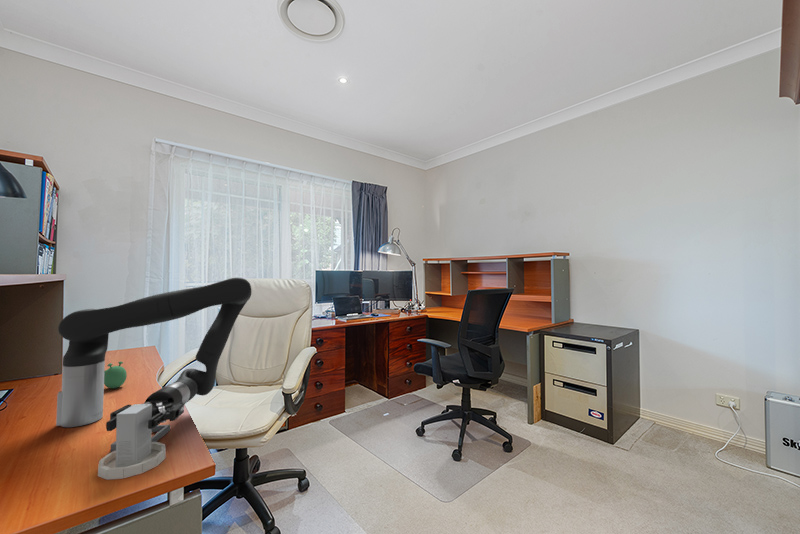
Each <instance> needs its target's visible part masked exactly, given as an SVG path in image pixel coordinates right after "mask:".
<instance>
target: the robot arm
mask: <svg viewBox="0 0 800 534" xmlns="http://www.w3.org/2000/svg"><path fill="white" fill-rule="evenodd" d="M251 297H252V286H251V284H250V282H249V281H248V280H247V279H246V278H243V277H240V276H237V277H236V276H234V277H230V278H227V279H224V280H221V281H220V280H219V281H218V282H214V283H210V284H207V285H203V286H198V287H191V288H183V289H178V290H172V291H167V292H163V293H162V292H161V293H158V294H154V295H150V296H146V297H142V298H139V299H135V300H132V301H130V302H125V303H123V304H120V305H115V306H111V307H105V308H104V307H103V308H98V309H95V308H86V309H80V310H77V311H73V312H70V313H69V314H68V315H66V316H64V318H63V319H62V320H61V321H60V322H59V324H58V328H57V331H58V334H59V336H61V337H62V338H63V339H65V340H67V341H68V347H67V349H66V350H67V351H66V352H65V353H64V355H63V358H62V377H61V378H62V380H61V391H58V393H57V396H56V420H55V421H56V422H55V423H56V424H55V426H56V427H59V426H60V427H62V428H74V427H80V426H81V427H82V426H87V425H89V424H92V423H95V422H97V421H99V420H101V419H102V418H103V416H104V398H105V397H104V394H105V392H104V391H105V385H104V371H105V367H106V366H105V365H106V354H107V351H108V348H109V335H110V334H111V333H115V332H117V331H121V330H126V329H131V328H138V327H144V326H150V325H155V324H160V323H166V322H170V321H174V320H178V319H181V318H184V317H187V316H190V315H192V314H194V313H197V312H199V311H202V310H204V309H207V308H210V307H214V306H215V307H216V306H220V309H219V311H218V313H217V315H216V317H215V319H214V320H213V322H212V324H211V325H210V327H209V329H208V330H207V332H206V334H205V335H204V338H203V340H202V341H201V344H200V345H199V347H198V350H197V352H196V354H195V360H196V361H197V362H199V363H200V364H203V365H204V366H205V371H204V370H201V369H196V368H186V369H184V370H183V371H182V372H181V373H180V375H179V377H178V378H177V379H176V380H175V381H174V382H171V383H170V384H166V385H165V386H163V387H161V388H160V389H158V390H156V391H155V392H153V393H151V394H150V395H149V396H148V397H147V398H146V399H145V401H144V402H143V403H142V404H152V418H151V419H149V421H148V429H153V428H154V427H156V426H158V425H161V424H162V423H166V422H167V421H168V420H169V422H174V421H176V420H177V419H178V418H180V416H182V414H184V412H185V405H186V404H187V403H188V402H190V401H191V400H192V399H193V398H194V397H195V396H196V395H199V396H207V395H208V394H209V393H211V392H212V390H213V388H214V387H215V384H216V376H217V369H218V365H219V361H220V359H221V356H222V353H223V352H224V350H225V347H226V344H227V342H228V339H229V337H230V335H231V332H232V329H233V327H234V325H235V323H236V320H237V319H238V317H239V315H240V313H241V312H242V310H243V309H244V307H245V305H246V304H247V302H248V301H249V300H250V299H251ZM131 406H132V404H126V405H124V406H122V407H120V408H118V409H116V410H114V411H112V412H111V413H110V415H109V420H108V421H106V424H105V429H106V431H107V432H112V431H113V430H115V429H116V425H117V414H118V413H120V412H122V411H124V410H125V409H127V408H129V407H131Z"/></svg>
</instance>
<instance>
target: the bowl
mask: <svg viewBox="0 0 800 534" xmlns="http://www.w3.org/2000/svg"><path fill="white" fill-rule="evenodd" d="M166 449H167V448H166V444H165V443H162V442H159V441H157V442H151V453H150V454H149V455H148V456H147V457H146V458H144V459H143V460H142V461H141V462H140V463H138V464H134V465H130V466H127V467H116V451H110V452H109V453H107V454H106V455H105V456H104V457H102V458H101V459H99V461H98V466H97V467H98V468H97V477H99V478H102V479H104V480H120V479H126V478H129V477H130V478H131V477H134V476H137V475H141V474H143V473H146V472H148V471H150V470H151V469H153V468H156V467H157V466H159V465H160V464H161V463H162V462H163V461H165V459H166V455H167V454H166V453H167V452H166Z"/></svg>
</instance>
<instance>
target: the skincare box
mask: <svg viewBox="0 0 800 534" xmlns="http://www.w3.org/2000/svg"><path fill="white" fill-rule="evenodd" d="M151 418H152V404H143V403H137V404H135V403H134V404H131V407H129V408H127V409H125V410H124V411H122V412H120V413H118V414H117V425H116V428H115V429H116V432H115V433H116V434H115V441H116V467H127V466H130V465H134V464H138V463H140V462H141V461H142V460H143V459H144V458H146V457H147V456H148V455H149V454H150V453H151V437H153V435H152V433H153V432H152V429H148V421H149V419H151Z"/></svg>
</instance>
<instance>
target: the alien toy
mask: <svg viewBox="0 0 800 534" xmlns="http://www.w3.org/2000/svg"><path fill="white" fill-rule="evenodd" d="M117 363H118V364H119V365H113V363H111V362H110V363H108V364H107V366H106V367H109V368H107V369H106V370H105V369H104V387H106V388H108V389H112V390H113V389H118V388H119V387H121V386H122V385H124V383H125V382H126V380H127V371H126V368H124V367H123V366H122V364H124V362H123V361H120V360H119V361H118V362H117Z"/></svg>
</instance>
